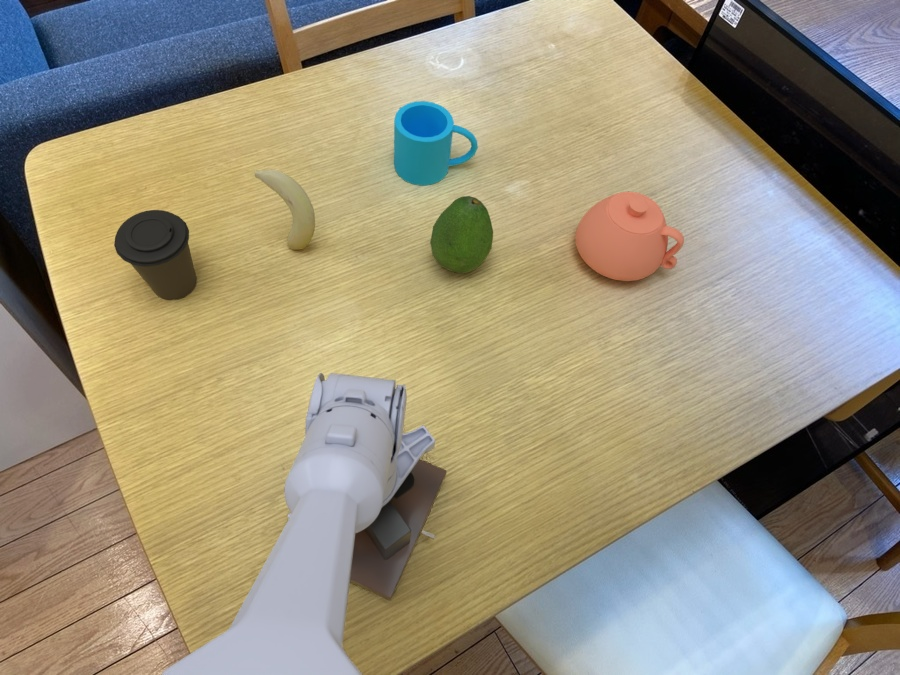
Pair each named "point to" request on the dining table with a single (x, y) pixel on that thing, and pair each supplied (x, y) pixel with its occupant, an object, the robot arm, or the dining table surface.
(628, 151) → the dining table surface
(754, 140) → the dining table surface
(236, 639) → the robot arm
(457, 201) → the fruit
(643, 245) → the sugar bowl
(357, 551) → the brown pegged board
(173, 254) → the coffee cup
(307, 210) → the fruit
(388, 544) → the gray bar
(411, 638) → the dining table surface
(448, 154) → the mug
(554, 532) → the dining table surface
